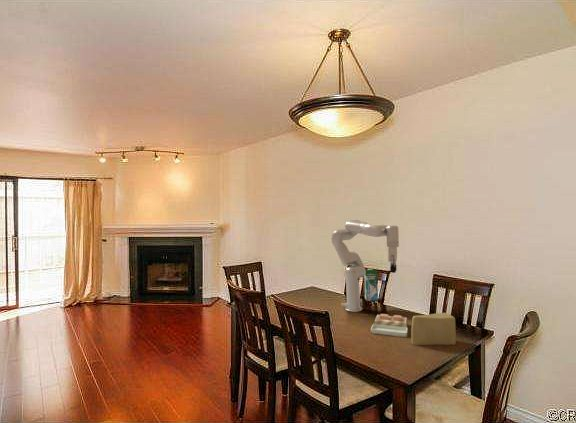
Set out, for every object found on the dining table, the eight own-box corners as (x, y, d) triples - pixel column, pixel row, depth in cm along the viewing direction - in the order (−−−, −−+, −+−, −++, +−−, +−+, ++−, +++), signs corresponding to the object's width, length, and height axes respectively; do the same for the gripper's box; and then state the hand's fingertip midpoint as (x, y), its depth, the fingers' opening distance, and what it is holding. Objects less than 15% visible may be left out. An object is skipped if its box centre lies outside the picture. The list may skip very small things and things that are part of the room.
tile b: (393, 320, 201) (393, 317, 201) (394, 318, 205) (394, 314, 205) (401, 321, 199) (401, 317, 199) (401, 318, 203) (401, 315, 203)
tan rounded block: (416, 348, 170) (415, 319, 171) (407, 341, 180) (407, 313, 180) (456, 345, 173) (456, 316, 173) (446, 338, 182) (445, 311, 182)
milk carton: (376, 298, 271) (375, 267, 271) (377, 300, 262) (377, 269, 262) (364, 298, 272) (364, 267, 272) (366, 300, 263) (365, 269, 263)
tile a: (380, 319, 204) (379, 315, 204) (380, 316, 208) (380, 313, 208) (387, 319, 202) (387, 316, 202) (388, 317, 207) (388, 314, 207)
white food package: (374, 327, 202) (374, 320, 202) (377, 321, 213) (377, 314, 213) (405, 331, 195) (405, 323, 195) (407, 324, 206) (406, 317, 206)
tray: (370, 333, 193) (370, 329, 193) (373, 327, 202) (373, 323, 202) (406, 337, 185) (406, 333, 185) (407, 331, 194) (407, 327, 194)
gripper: (388, 243, 226) (388, 269, 226) (385, 245, 210) (386, 273, 210) (399, 243, 223) (400, 269, 223) (397, 245, 207) (398, 274, 207)
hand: (393, 271), depth 217 cm, fingers open, 6 cm apart
